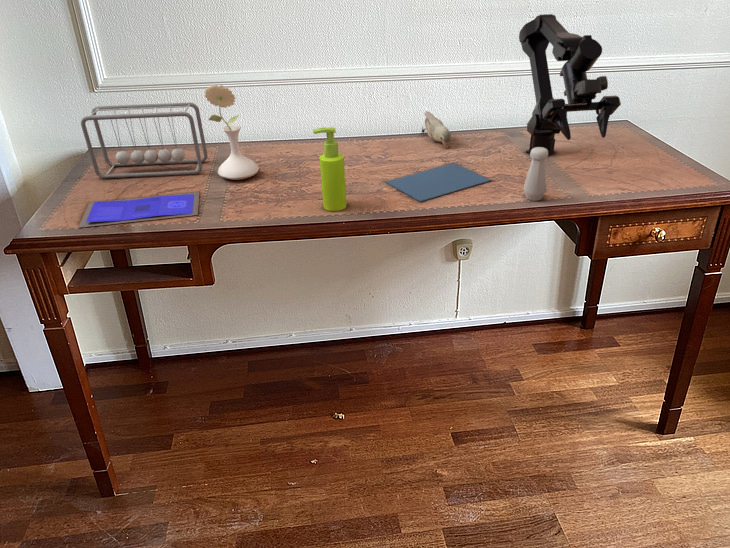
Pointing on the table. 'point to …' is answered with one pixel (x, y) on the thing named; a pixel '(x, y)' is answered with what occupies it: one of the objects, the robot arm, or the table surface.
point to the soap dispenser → (332, 173)
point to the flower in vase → (230, 137)
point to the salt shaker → (536, 175)
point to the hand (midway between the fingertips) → (586, 138)
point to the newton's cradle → (149, 154)
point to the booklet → (140, 209)
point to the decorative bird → (436, 129)
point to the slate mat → (437, 182)
